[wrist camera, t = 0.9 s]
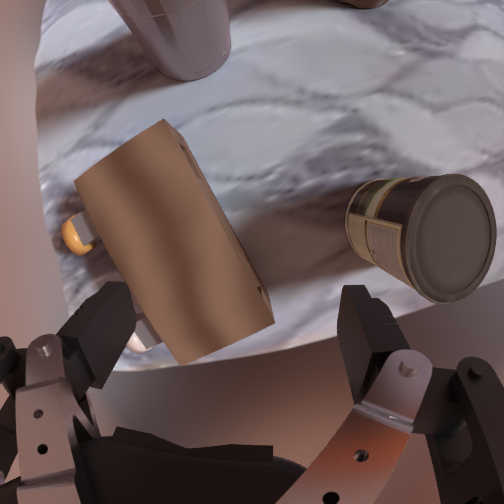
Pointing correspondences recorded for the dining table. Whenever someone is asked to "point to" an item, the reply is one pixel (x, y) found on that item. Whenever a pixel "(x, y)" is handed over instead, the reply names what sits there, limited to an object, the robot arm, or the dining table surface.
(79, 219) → the amber button
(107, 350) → the robot arm
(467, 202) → the coffee can
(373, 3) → the plant pot
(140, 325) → the ivory button
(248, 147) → the dining table surface
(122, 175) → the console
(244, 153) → the dining table surface
